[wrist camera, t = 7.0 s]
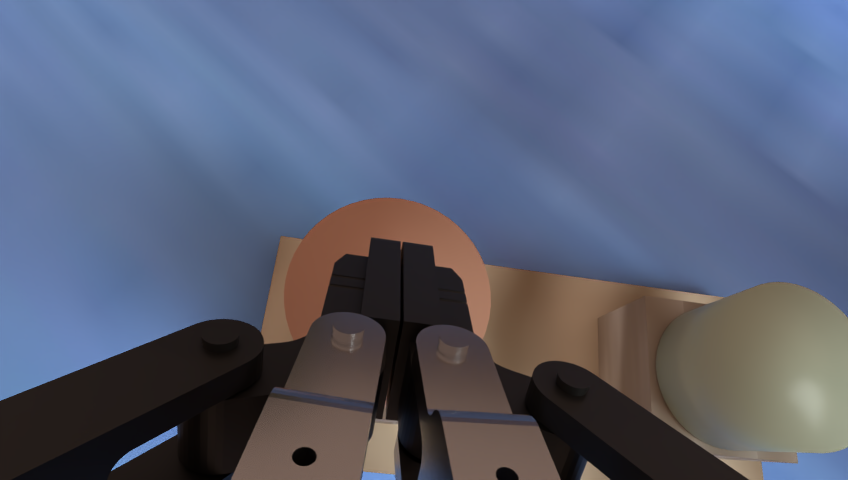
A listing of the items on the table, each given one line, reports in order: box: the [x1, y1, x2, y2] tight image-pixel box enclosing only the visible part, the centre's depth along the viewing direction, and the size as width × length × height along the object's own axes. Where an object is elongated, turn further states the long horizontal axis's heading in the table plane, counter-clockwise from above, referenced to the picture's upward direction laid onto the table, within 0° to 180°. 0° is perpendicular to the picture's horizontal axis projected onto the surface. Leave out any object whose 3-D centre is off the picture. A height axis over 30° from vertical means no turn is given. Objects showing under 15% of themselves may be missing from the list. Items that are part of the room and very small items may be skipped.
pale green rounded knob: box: [656, 282, 848, 453], centre depth 21 cm, size 6×6×7 cm
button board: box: [261, 236, 798, 480], centre depth 24 cm, size 24×10×6 cm, turn 84°
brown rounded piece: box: [284, 198, 491, 408], centre depth 18 cm, size 6×6×7 cm
